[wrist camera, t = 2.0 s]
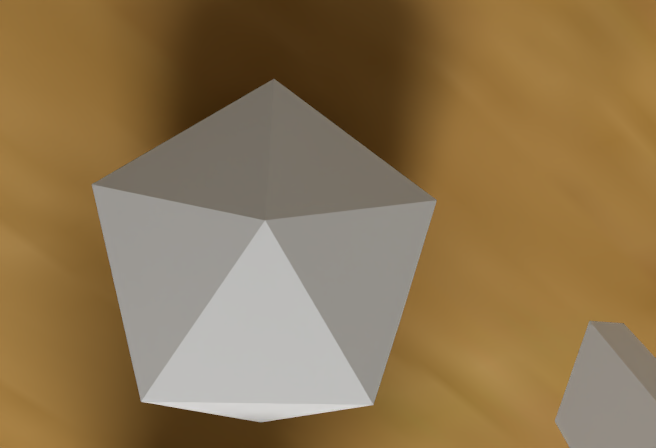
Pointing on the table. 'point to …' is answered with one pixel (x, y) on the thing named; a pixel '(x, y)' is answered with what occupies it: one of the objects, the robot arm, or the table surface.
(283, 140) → the die
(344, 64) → the table surface
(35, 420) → the table surface
